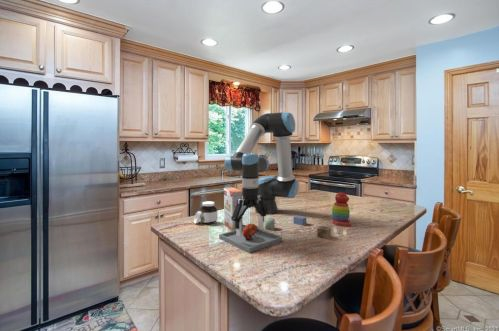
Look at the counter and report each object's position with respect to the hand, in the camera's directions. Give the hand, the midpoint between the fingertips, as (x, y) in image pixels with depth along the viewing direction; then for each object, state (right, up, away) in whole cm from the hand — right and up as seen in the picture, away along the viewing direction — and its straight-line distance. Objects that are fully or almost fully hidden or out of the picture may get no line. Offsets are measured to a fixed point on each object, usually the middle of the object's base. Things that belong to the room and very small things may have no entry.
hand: (250, 232), depth 123 cm
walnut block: (+36, -4, +5) cm, 36 cm away
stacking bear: (+52, -2, +26) cm, 58 cm away
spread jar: (-26, -2, +27) cm, 37 cm away
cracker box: (-9, -2, +19) cm, 21 cm away
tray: (0, -4, 0) cm, 4 cm away
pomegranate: (0, -3, 0) cm, 3 cm away
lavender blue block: (+28, -2, +26) cm, 38 cm away
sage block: (+11, -2, +17) cm, 20 cm away
